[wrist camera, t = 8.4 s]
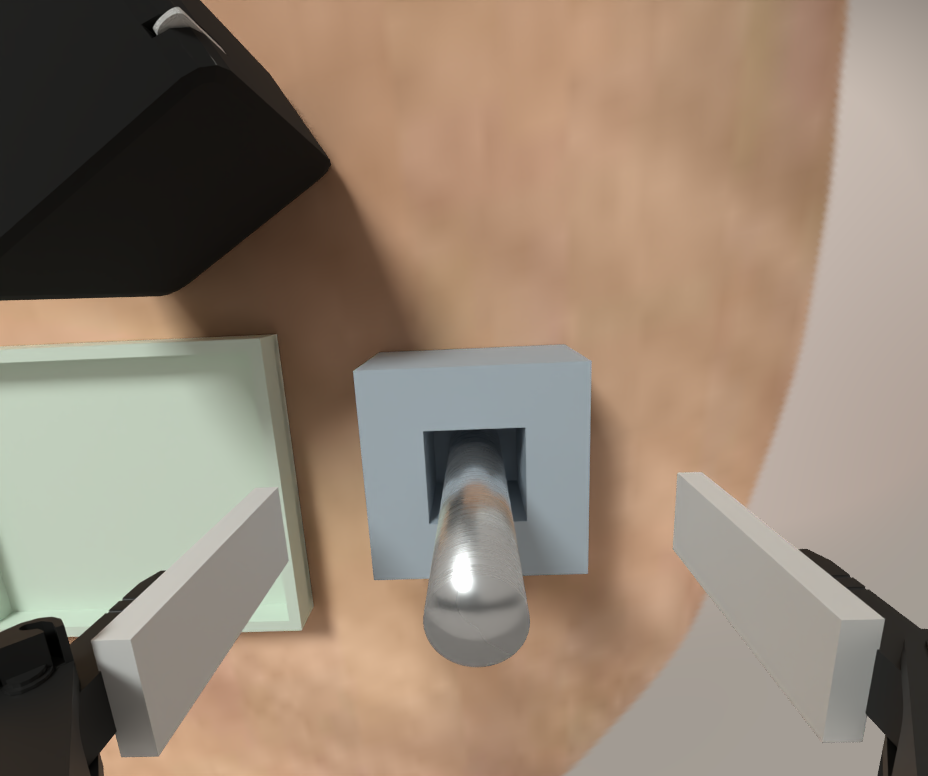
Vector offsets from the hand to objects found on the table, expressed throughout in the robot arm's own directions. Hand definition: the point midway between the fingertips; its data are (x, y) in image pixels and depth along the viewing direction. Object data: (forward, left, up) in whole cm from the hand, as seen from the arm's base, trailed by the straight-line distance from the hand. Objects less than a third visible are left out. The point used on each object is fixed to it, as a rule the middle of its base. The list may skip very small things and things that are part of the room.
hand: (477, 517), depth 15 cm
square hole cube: (0, 0, -8) cm, 8 cm away
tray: (+2, -18, -8) cm, 20 cm away
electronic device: (-12, -11, -8) cm, 18 cm away
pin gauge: (0, 0, -7) cm, 7 cm away
